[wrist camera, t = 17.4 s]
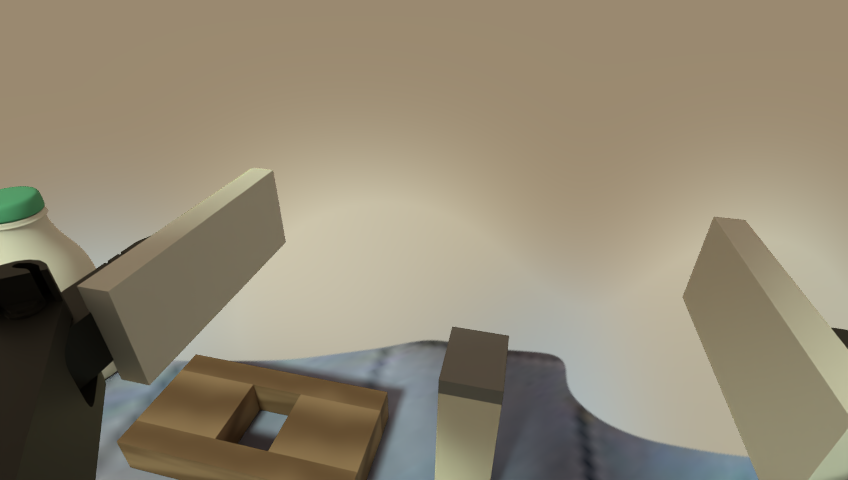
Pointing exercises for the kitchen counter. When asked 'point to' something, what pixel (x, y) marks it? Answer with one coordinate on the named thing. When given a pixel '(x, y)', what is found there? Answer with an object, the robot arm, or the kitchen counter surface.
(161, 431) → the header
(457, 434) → the plug
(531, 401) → the kitchen counter surface
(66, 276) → the milk bottle
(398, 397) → the kitchen counter surface
